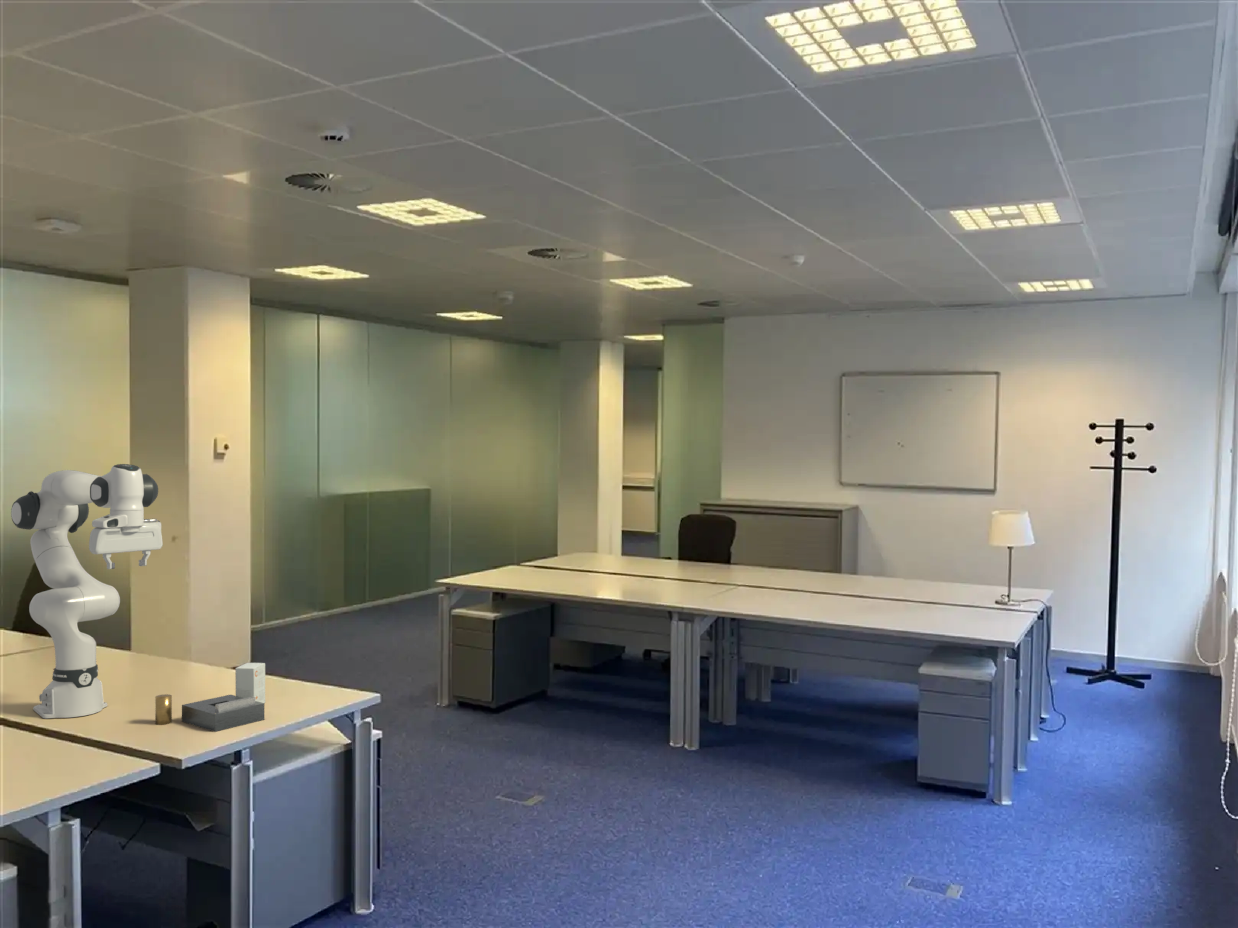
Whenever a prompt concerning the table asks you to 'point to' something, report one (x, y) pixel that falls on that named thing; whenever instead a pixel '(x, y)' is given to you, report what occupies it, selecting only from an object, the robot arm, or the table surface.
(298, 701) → the table surface
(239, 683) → the small box
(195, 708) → the jig
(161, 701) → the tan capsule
